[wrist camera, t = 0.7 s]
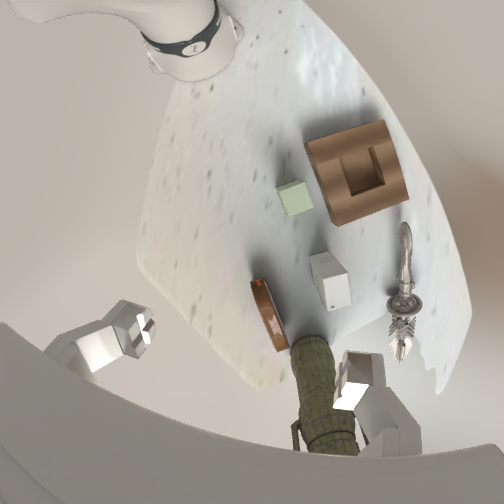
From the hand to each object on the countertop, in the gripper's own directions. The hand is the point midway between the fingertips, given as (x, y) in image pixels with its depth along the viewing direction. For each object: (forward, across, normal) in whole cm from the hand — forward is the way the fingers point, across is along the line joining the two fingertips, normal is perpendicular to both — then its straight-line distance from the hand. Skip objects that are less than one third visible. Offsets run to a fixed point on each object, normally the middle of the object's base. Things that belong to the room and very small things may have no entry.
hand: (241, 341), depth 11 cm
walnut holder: (+44, -9, +1) cm, 45 cm away
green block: (+40, +2, +6) cm, 41 cm away
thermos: (+35, -6, +38) cm, 52 cm away
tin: (+35, +3, +28) cm, 45 cm away
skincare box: (+39, -5, +19) cm, 44 cm away
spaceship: (+42, -23, +25) cm, 54 cm away
